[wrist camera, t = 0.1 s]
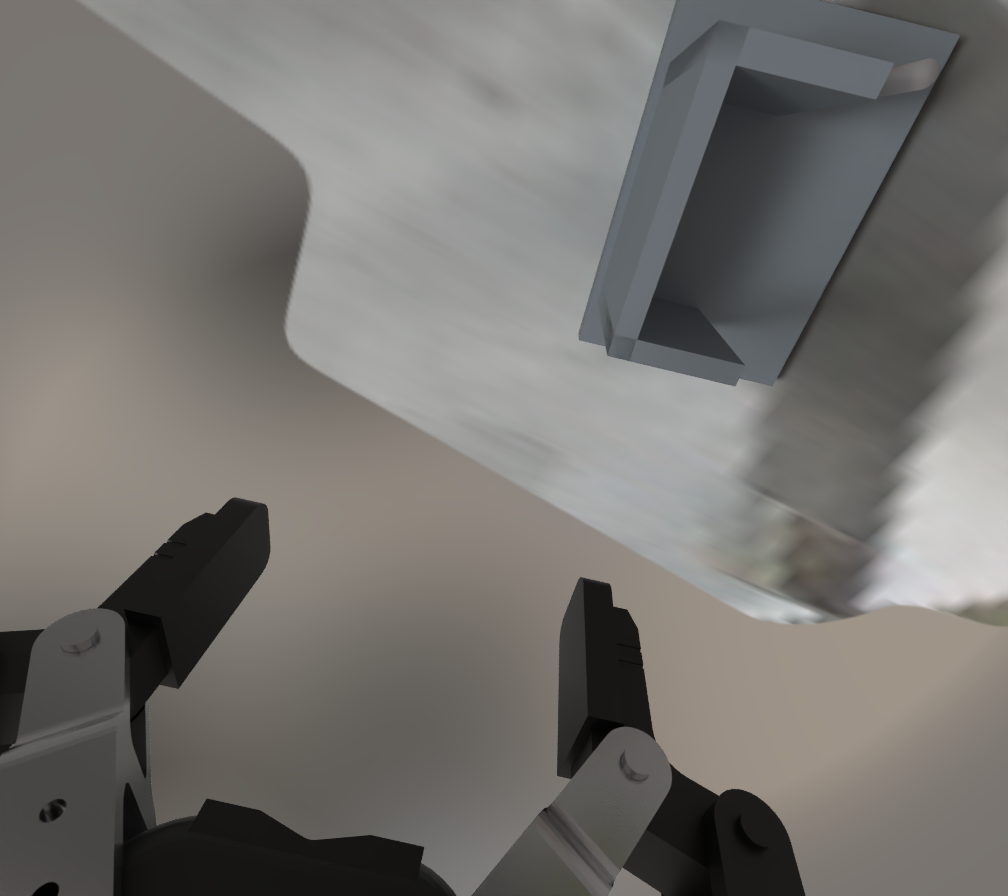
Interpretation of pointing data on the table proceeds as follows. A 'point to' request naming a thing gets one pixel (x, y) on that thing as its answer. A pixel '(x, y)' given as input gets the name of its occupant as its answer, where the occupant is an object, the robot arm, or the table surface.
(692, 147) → the grey corner bracket
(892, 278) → the table surface
